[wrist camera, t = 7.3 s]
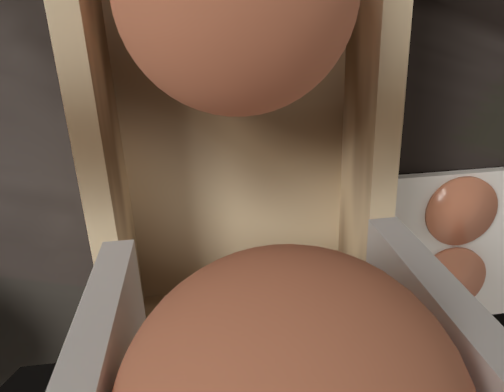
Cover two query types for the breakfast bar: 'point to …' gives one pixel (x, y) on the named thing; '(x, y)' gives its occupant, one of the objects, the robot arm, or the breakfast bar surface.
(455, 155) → the breakfast bar surface
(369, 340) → the ball
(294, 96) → the peach-coloured sphere
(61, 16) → the wooden egg crate
